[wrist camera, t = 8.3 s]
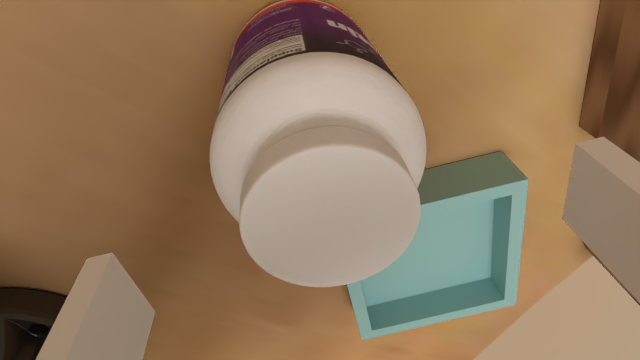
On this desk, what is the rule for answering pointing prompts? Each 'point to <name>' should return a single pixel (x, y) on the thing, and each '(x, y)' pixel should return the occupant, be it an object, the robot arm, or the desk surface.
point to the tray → (451, 250)
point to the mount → (615, 77)
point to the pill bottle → (316, 147)
